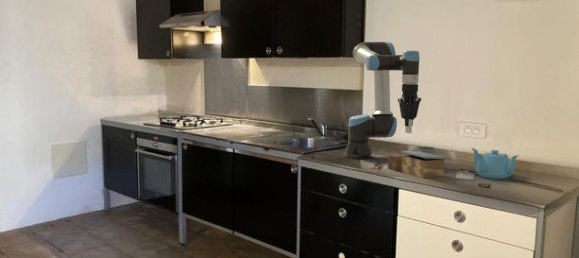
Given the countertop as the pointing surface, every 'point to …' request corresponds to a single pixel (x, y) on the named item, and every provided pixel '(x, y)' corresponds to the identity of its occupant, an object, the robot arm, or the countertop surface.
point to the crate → (422, 166)
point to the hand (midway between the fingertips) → (408, 132)
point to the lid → (423, 154)
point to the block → (394, 162)
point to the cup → (427, 150)
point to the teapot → (494, 165)
